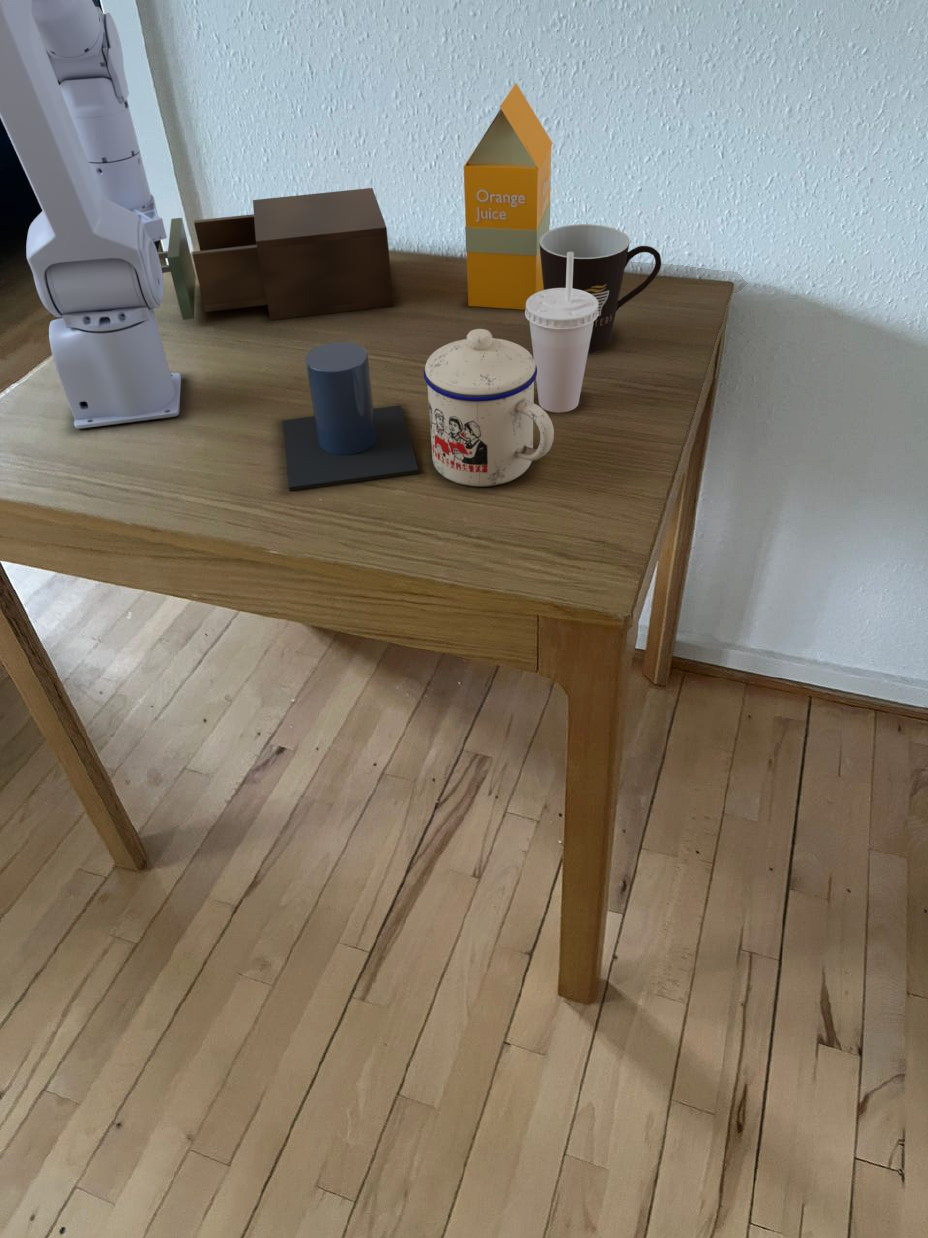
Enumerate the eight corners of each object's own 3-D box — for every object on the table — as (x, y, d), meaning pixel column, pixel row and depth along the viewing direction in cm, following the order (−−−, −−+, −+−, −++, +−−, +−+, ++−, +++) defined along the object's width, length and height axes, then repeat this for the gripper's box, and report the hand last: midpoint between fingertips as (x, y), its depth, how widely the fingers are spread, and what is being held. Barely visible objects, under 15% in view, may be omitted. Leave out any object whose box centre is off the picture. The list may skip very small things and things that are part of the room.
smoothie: (589, 422, 86) (598, 269, 76) (519, 417, 87) (519, 266, 77) (596, 387, 90) (606, 239, 81) (529, 382, 91) (531, 236, 82)
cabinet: (270, 320, 104) (255, 241, 98) (266, 274, 113) (252, 199, 107) (393, 305, 105) (386, 227, 99) (379, 261, 114) (372, 187, 109)
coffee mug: (530, 354, 96) (531, 255, 89) (545, 316, 102) (547, 221, 95) (646, 364, 93) (657, 263, 87) (655, 325, 99) (665, 228, 93)
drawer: (141, 324, 102) (124, 262, 97) (147, 282, 110) (131, 222, 106) (298, 306, 104) (288, 244, 99) (292, 266, 112) (283, 206, 108)
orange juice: (466, 305, 104) (459, 105, 91) (483, 273, 111) (479, 81, 97) (537, 310, 103) (540, 107, 89) (550, 276, 109) (555, 82, 96)
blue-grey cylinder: (315, 428, 86) (302, 346, 81) (372, 420, 87) (362, 338, 81) (322, 459, 82) (308, 375, 77) (381, 450, 83) (372, 366, 78)
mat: (289, 491, 80) (288, 487, 79) (283, 424, 88) (282, 420, 87) (419, 473, 81) (418, 469, 80) (401, 408, 89) (400, 404, 88)
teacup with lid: (408, 463, 82) (396, 336, 74) (479, 420, 87) (476, 297, 79) (512, 517, 76) (512, 386, 68) (583, 468, 80) (591, 340, 72)
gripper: (42, 146, 94) (84, 280, 103) (98, 182, 85) (138, 324, 95) (110, 130, 97) (145, 262, 106) (170, 164, 88) (203, 304, 98)
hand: (146, 290), depth 101 cm, fingers closed
